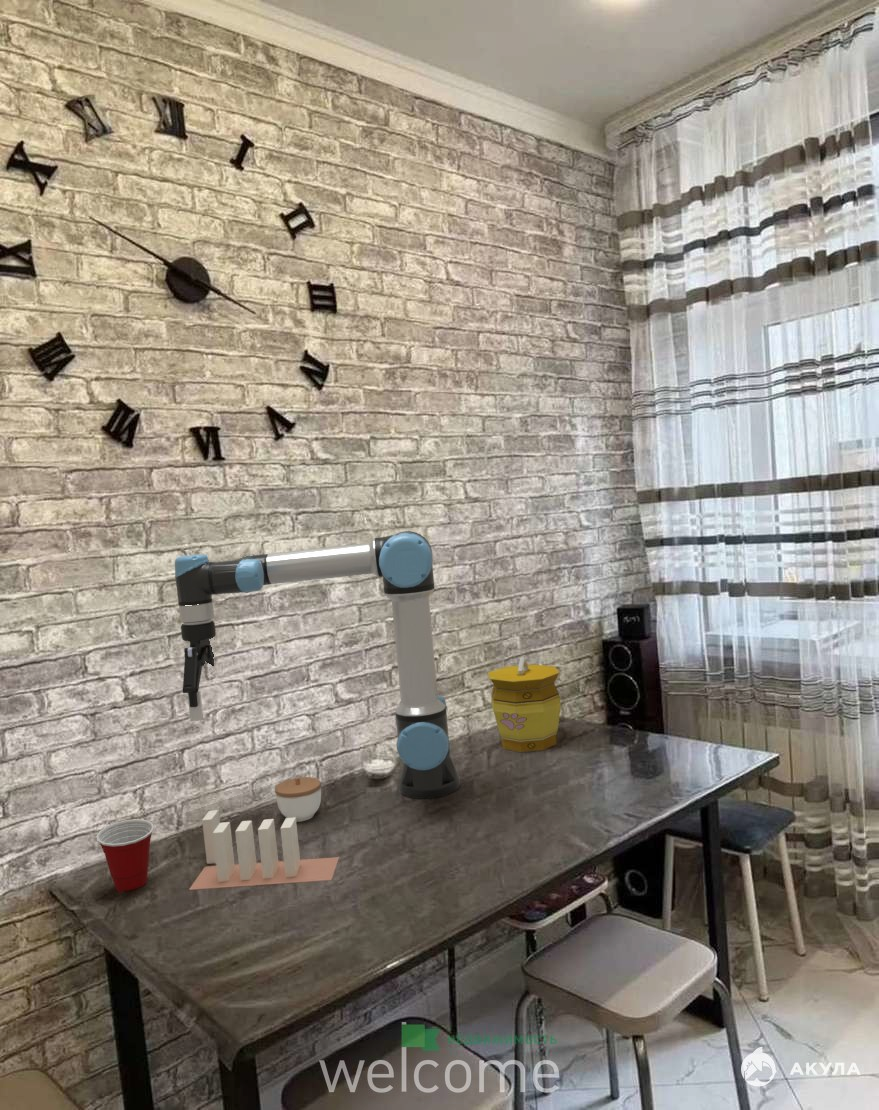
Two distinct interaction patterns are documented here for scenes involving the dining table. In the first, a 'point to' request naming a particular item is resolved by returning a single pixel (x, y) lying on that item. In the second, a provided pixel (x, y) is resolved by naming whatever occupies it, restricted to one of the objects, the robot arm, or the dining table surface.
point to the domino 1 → (210, 834)
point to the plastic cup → (127, 852)
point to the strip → (306, 873)
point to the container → (526, 706)
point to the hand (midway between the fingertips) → (206, 712)
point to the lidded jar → (299, 797)
